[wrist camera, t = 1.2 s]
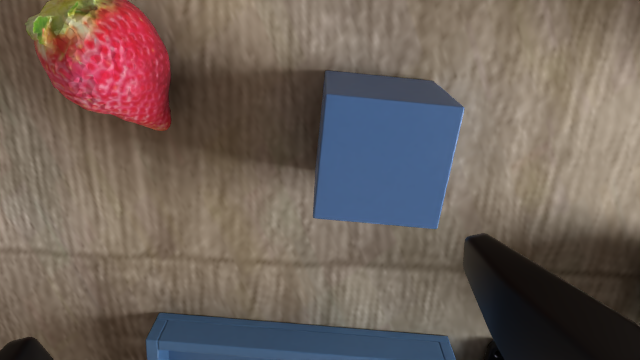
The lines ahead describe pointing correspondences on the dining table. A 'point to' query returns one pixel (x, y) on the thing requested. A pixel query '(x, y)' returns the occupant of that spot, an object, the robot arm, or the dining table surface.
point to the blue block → (384, 149)
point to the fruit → (105, 58)
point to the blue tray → (283, 341)
